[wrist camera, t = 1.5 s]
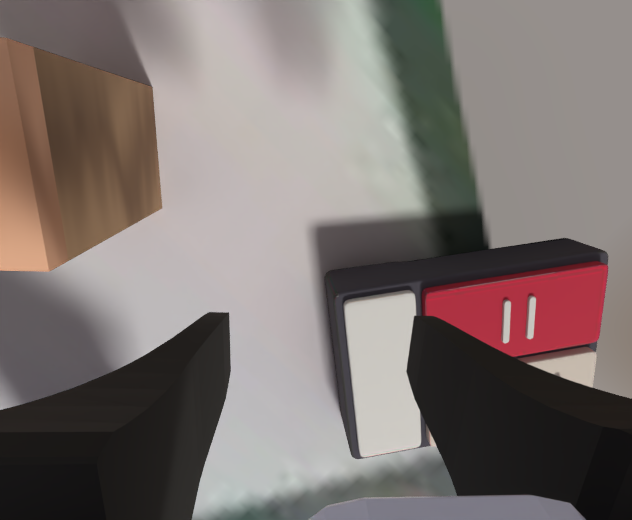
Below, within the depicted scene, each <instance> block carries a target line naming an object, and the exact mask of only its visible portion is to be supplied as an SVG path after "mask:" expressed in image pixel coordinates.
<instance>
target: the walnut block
mask: <svg viewBox="0 0 632 520" xmlns="http://www.w3.org/2000/svg"><path fill="white" fill-rule="evenodd" d="M161 208H162V200H161V188H160V176H159V163H158V151H157V139H156V127H155V114H154V102H153V90H152V87H151V86H148V85H145V84H142V83H139V82H136V81H133V80H130V79H127V78H124V77H121V76H118V75H115V74H112V73H109V72H106V71H103V70H100V69H97V68H94V67H91V66H88V65H85V64H82V63H79V62H76V61H73V60H70V59H67V58H64V57H61V56H58V55H55V54H53V53H50V52H47V51H44V50H41V49H38V48H35V47H32V46H29V45H26V44H23V43H20V42H17V41H14V40H11V39H8V38H0V270H1V271H45V272H49V271H51V270H53V269H55V268H57V267H58V266H60V265H62V264H64V263H65V262H67V261H69V260H71V259H73V258H74V257H76V256H78V255H80V254H81V253H83V252H85V251H87V250H89V249H90V248H92V247H94V246H96V245H97V244H99V243H101V242H103V241H105V240H106V239H108V238H110V237H112V236H113V235H115V234H117V233H119V232H121V231H122V230H124V229H126V228H128V227H129V226H131V225H133V224H135V223H137V222H138V221H140V220H142V219H144V218H145V217H147V216H149V215H151V214H153V213H154V212H156V211H158V210H160V209H161Z"/></svg>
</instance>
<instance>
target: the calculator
mask: <svg viewBox="0 0 632 520" xmlns="http://www.w3.org/2000/svg"><path fill="white" fill-rule="evenodd" d="M607 264H608V254H607V253H606V252H605V251H603V250H601V249H598V248H595V247H592V246H589V245H586V244H583V243H580V242H577V241H574V240H571V239H568V238H560V239H554V240H547V241H540V242H534V243H528V244H521V245H515V246H508V247H501V248H495V249H488V250H481V251H475V252H468V253H462V254H455V255H449V256H442V257H436V258H429V259H423V260H416V261H409V262H390V263H382V264H375V265H368V266H360V267H353V268H345V269H338V270H332V271H329V272H328V273H327V274H326V276H325V284H326V292H327V301H328V309H329V317H330V326H331V334H332V342H333V350H334V358H335V367H336V375H337V383H338V391H339V400H340V408H341V415H342V420H343V424H344V428H345V432H346V436H347V440H348V444H349V448H350V452H351V455H352V457H354V458H355V459H362V458H367V457H373V456H378V455H383V454H389V453H394V452H399V451H405V450H410V449H415V448H421V447H426V446H433V447H435V446H436V444H435V441H434V439H433V437H432V435H431V433H430V431H429V429H428V427H427V425H426V423H425V420H424V418H423V416H422V414H421V412H420V410H419V408H418V405H417V403H416V401H415V399H414V395H413V392H412V389H411V386H410V383H409V379H408V376H407V372H406V370H407V363H408V355H409V348H410V341H411V334H412V327H413V320H414V316H435V317H437V318H440V319H442V320H444V321H446V322H448V323H450V324H451V325H453V326H455V327H457V328H459V329H461V330H462V331H464V332H466V333H468V334H470V335H471V336H473V337H475V338H477V339H479V340H481V341H482V342H484V343H486V344H488V345H490V346H492V347H494V348H496V349H498V350H500V351H502V352H504V353H506V354H508V355H510V356H512V357H514V358H516V359H518V360H520V361H523V362H525V363H527V364H529V365H532V366H534V367H537V368H539V369H542V370H544V371H546V372H549V373H551V374H554V375H557V376H559V377H562V378H565V379H568V380H570V381H573V382H577V383H580V384H583V385H586V386H589V387H593V379H594V371H595V365H596V347H597V340H598V338H599V335H600V327H601V320H602V313H603V305H604V298H605V291H606V283H607V276H608V266H607Z"/></svg>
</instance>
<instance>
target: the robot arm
mask: <svg viewBox="0 0 632 520" xmlns="http://www.w3.org/2000/svg"><path fill="white" fill-rule="evenodd" d="M230 371H231V366H230V330H229V313H216V312H209V313H207V314H205V315H204V316H202V317H201V318H200V319H198V320H197V321H195V322H194V323H193V324H191V325H190V326H189V327H187V328H186V329H184V330H183V331H182V332H180V333H179V334H177V335H176V336H174V337H173V338H172V339H170V340H168V341H167V342H165V343H164V344H162V345H160V346H159V347H157V348H156V349H154V350H153V351H151V352H149V353H148V354H146V355H144V356H143V357H141V358H139V359H137V360H135V361H133V362H132V363H130V364H128V365H126V366H124V367H122V368H120V369H118V370H115V371H113V372H111V373H109V374H106V375H104V376H102V377H99V378H97V379H94V380H92V381H89V382H87V383H85V384H82V385H80V386H77V387H75V388H72V389H69V390H66V391H63V392H60V393H58V394H55V395H52V396H48V397H45V398H42V399H39V400H36V401H32V402H29V403H26V404H22V405H19V406H15V407H11V408H7V409H3V410H0V520H191V519H192V515H193V510H194V505H195V501H196V496H197V491H198V487H199V482H200V478H201V475H202V471H203V468H204V464H205V461H206V458H207V455H208V452H209V449H210V446H211V443H212V440H213V436H214V433H215V430H216V427H217V424H218V421H219V418H220V415H221V412H222V409H223V405H224V402H225V399H226V394H227V388H228V383H229V377H230ZM406 372H407V376H408V379H409V383H410V386H411V389H412V392H413V395H414V399H415V401H416V403H417V405H418V408H419V410H420V412H421V414H422V416H423V418H424V420H425V423H426V425H427V427H428V429H429V431H430V433H431V435H432V437H433V439H434V441H435V444H436V446H437V448H438V450H439V452H440V454H441V456H442V458H443V460H444V462H445V465H446V467H447V469H448V472H449V474H450V477H451V479H452V482H453V485H454V487H455V490H456V493H457V496H431V497H376V498H360V499H355V500H351V501H346V502H341V503H337V504H332V505H328V506H326V507H325V508H323V509H322V510H321V511H319V512H318V513H316V514H315V515H314V516H312V517H311V518H310V519H308V520H632V399H630V398H626V397H622V396H619V395H615V394H612V393H608V392H605V391H601V390H598V389H595V388H592V387H589V386H586V385H583V384H580V383H577V382H573V381H570V380H568V379H565V378H562V377H559V376H557V375H554V374H551V373H549V372H546V371H544V370H542V369H539V368H537V367H534V366H532V365H529V364H527V363H525V362H523V361H520V360H518V359H516V358H514V357H512V356H510V355H508V354H506V353H504V352H502V351H500V350H498V349H496V348H494V347H492V346H490V345H488V344H486V343H484V342H482V341H481V340H479V339H477V338H475V337H473V336H471V335H470V334H468V333H466V332H464V331H462V330H461V329H459V328H457V327H455V326H453V325H451V324H450V323H448V322H446V321H444V320H442V319H440V318H437V317H435V316H414V320H413V327H412V334H411V341H410V348H409V355H408V363H407V370H406Z"/></svg>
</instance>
